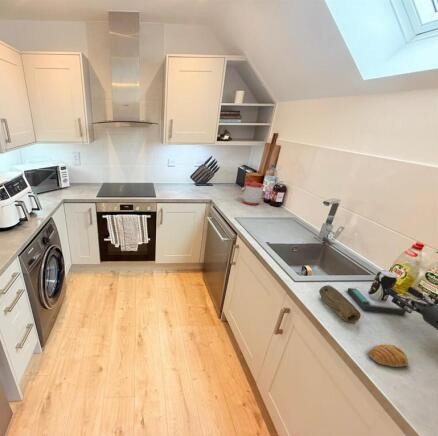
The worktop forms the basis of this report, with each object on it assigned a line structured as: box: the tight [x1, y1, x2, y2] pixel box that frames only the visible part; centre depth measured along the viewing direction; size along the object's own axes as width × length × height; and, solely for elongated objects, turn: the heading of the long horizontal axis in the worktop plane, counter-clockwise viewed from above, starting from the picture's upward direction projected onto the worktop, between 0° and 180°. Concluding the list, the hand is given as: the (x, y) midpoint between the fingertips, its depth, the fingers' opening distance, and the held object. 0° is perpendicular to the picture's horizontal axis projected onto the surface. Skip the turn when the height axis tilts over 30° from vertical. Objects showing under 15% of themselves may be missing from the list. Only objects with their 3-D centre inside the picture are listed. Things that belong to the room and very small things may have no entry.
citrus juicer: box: [241, 180, 265, 206], centre depth 204 cm, size 16×17×20 cm
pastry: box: [368, 344, 410, 368], centre depth 74 cm, size 9×7×4 cm
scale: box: [346, 287, 407, 316], centre depth 97 cm, size 14×11×3 cm
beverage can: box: [368, 269, 398, 301], centre depth 93 cm, size 6×6×12 cm
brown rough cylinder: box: [318, 284, 362, 323], centre depth 93 cm, size 15×7×7 cm, turn 5°
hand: (398, 289), depth 88 cm, fingers open, 8 cm apart
